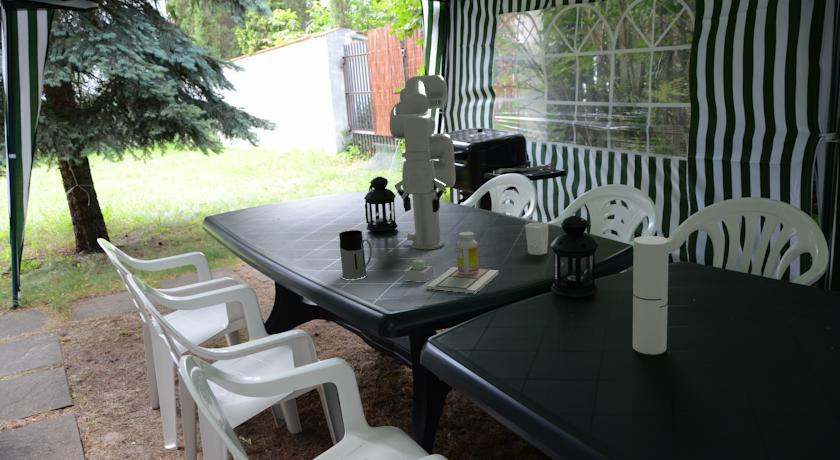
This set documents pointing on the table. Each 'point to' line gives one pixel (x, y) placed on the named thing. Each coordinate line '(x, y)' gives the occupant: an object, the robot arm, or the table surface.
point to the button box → (418, 274)
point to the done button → (418, 265)
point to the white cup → (537, 238)
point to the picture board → (463, 280)
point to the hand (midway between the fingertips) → (421, 211)
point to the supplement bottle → (467, 254)
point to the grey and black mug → (353, 254)
